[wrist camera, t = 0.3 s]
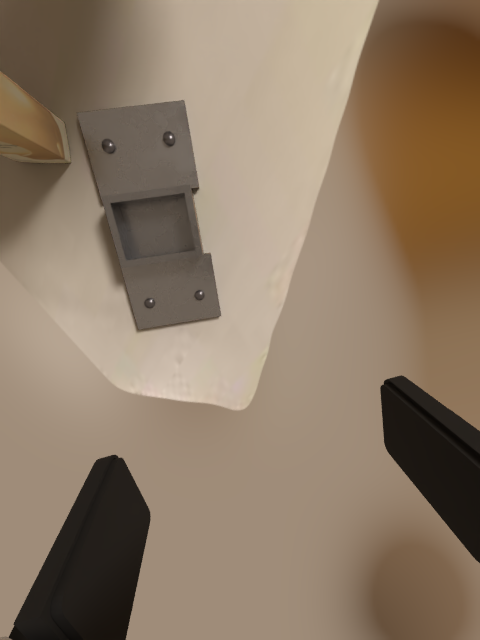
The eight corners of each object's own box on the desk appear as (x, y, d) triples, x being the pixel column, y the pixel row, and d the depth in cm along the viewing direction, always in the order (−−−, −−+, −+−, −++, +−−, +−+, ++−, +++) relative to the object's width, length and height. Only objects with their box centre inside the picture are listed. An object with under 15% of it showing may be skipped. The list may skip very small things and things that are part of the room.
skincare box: (16, 162, 31) (-100, 120, 19) (6, 118, 29) (-126, 44, 18) (75, 164, 31) (-4, 123, 20) (67, 121, 30) (-22, 50, 18)
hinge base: (79, 115, 30) (63, 101, 27) (184, 103, 31) (181, 87, 27) (139, 327, 38) (133, 336, 35) (220, 314, 39) (221, 321, 36)
